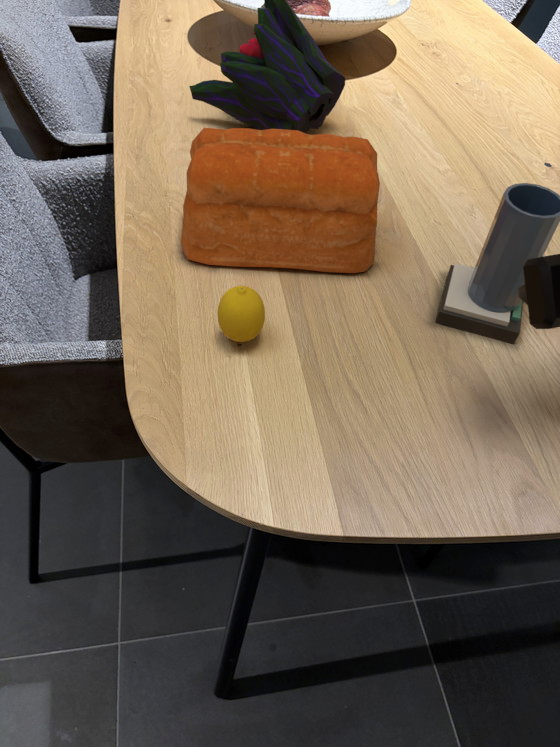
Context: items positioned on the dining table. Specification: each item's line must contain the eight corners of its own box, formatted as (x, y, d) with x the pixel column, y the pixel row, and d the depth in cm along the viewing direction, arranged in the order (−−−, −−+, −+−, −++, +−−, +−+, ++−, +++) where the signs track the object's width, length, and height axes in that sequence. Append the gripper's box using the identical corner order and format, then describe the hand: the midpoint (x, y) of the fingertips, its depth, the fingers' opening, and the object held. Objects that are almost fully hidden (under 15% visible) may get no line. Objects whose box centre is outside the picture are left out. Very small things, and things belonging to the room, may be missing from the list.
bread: (375, 279, 82) (398, 180, 71) (178, 266, 81) (169, 165, 70) (368, 218, 91) (387, 122, 80) (191, 207, 90) (185, 108, 79)
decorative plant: (270, 199, 109) (165, 97, 115) (373, 110, 112) (266, 16, 118) (259, 127, 89) (133, 9, 95) (385, 22, 92) (255, -86, 98)
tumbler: (529, 309, 76) (577, 214, 65) (481, 315, 74) (522, 220, 64) (505, 275, 80) (546, 180, 69) (458, 280, 79) (494, 185, 68)
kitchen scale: (520, 294, 82) (527, 278, 80) (514, 344, 75) (522, 328, 73) (447, 275, 83) (452, 259, 81) (435, 322, 77) (441, 306, 75)
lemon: (269, 350, 72) (272, 301, 66) (224, 359, 71) (223, 309, 65) (256, 319, 76) (258, 269, 70) (213, 326, 74) (211, 276, 68)
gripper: (780, 153, 48) (624, 196, 63) (585, 178, 44) (468, 218, 59) (790, 291, 49) (635, 301, 65) (602, 329, 45) (482, 330, 60)
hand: (558, 285), depth 62 cm, fingers open, 9 cm apart
